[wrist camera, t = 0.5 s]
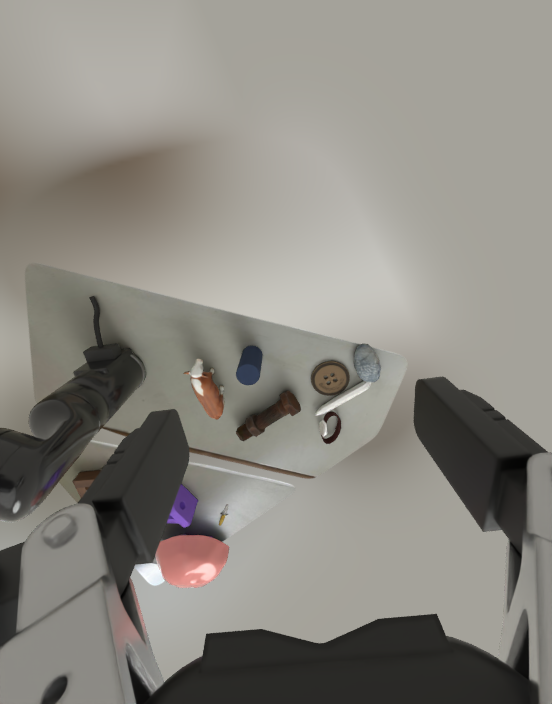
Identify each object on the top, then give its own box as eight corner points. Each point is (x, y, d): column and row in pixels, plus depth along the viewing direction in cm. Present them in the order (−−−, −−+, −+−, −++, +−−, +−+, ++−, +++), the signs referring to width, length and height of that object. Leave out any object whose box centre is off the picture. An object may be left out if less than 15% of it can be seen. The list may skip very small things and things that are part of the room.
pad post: (240, 346, 60) (234, 365, 52) (260, 344, 60) (257, 362, 52) (243, 365, 62) (238, 386, 53) (263, 363, 61) (261, 383, 53)
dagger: (227, 496, 76) (234, 497, 76) (227, 493, 77) (235, 494, 77) (216, 525, 79) (223, 526, 79) (216, 522, 80) (223, 523, 80)
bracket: (180, 483, 75) (171, 507, 68) (197, 500, 77) (190, 524, 70) (145, 502, 77) (133, 526, 71) (163, 517, 79) (152, 542, 73)
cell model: (237, 576, 72) (238, 526, 81) (152, 571, 66) (164, 518, 75) (217, 597, 81) (220, 550, 90) (141, 594, 75) (152, 544, 84)
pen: (311, 409, 65) (312, 413, 64) (368, 377, 62) (370, 381, 61) (315, 414, 66) (316, 418, 64) (371, 382, 63) (374, 386, 61)
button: (314, 397, 64) (314, 398, 64) (308, 365, 61) (308, 366, 61) (351, 391, 64) (351, 392, 63) (346, 358, 61) (347, 359, 60)
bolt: (240, 422, 69) (291, 389, 65) (251, 441, 68) (303, 408, 64) (228, 428, 64) (282, 392, 60) (239, 449, 63) (296, 413, 59)
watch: (321, 408, 66) (323, 418, 62) (342, 410, 66) (345, 420, 62) (316, 436, 69) (318, 447, 65) (337, 438, 69) (339, 449, 65)
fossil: (377, 339, 58) (353, 343, 61) (372, 345, 56) (347, 348, 59) (387, 377, 60) (363, 379, 63) (382, 385, 57) (358, 386, 60)
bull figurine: (210, 346, 60) (200, 363, 53) (230, 401, 65) (224, 423, 58) (190, 351, 61) (177, 368, 53) (211, 405, 66) (203, 428, 58)
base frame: (80, 471, 73) (72, 481, 71) (118, 468, 73) (112, 477, 70) (94, 501, 77) (87, 511, 74) (131, 497, 77) (125, 508, 74)
